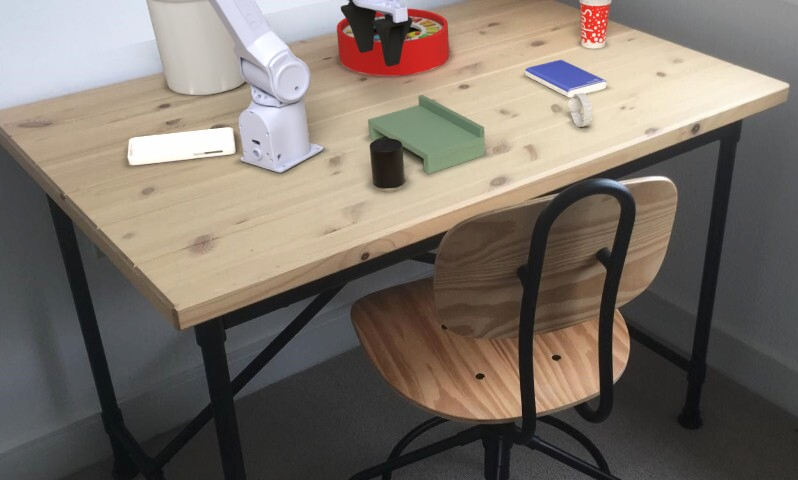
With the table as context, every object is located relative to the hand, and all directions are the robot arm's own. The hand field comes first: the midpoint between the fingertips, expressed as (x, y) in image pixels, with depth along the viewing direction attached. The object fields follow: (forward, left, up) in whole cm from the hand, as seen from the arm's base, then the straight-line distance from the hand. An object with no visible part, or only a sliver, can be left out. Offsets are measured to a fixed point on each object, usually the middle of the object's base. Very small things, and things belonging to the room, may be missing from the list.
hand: (379, 57), depth 146 cm
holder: (-17, -14, -10) cm, 24 cm away
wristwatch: (+15, -27, -11) cm, 33 cm away
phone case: (-24, +19, -11) cm, 32 cm away
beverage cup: (+50, -11, -11) cm, 52 cm away
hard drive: (+30, -16, -11) cm, 36 cm away
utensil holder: (-2, +37, -11) cm, 39 cm away
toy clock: (+25, +17, -11) cm, 32 cm away
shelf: (-4, -11, -10) cm, 16 cm away
